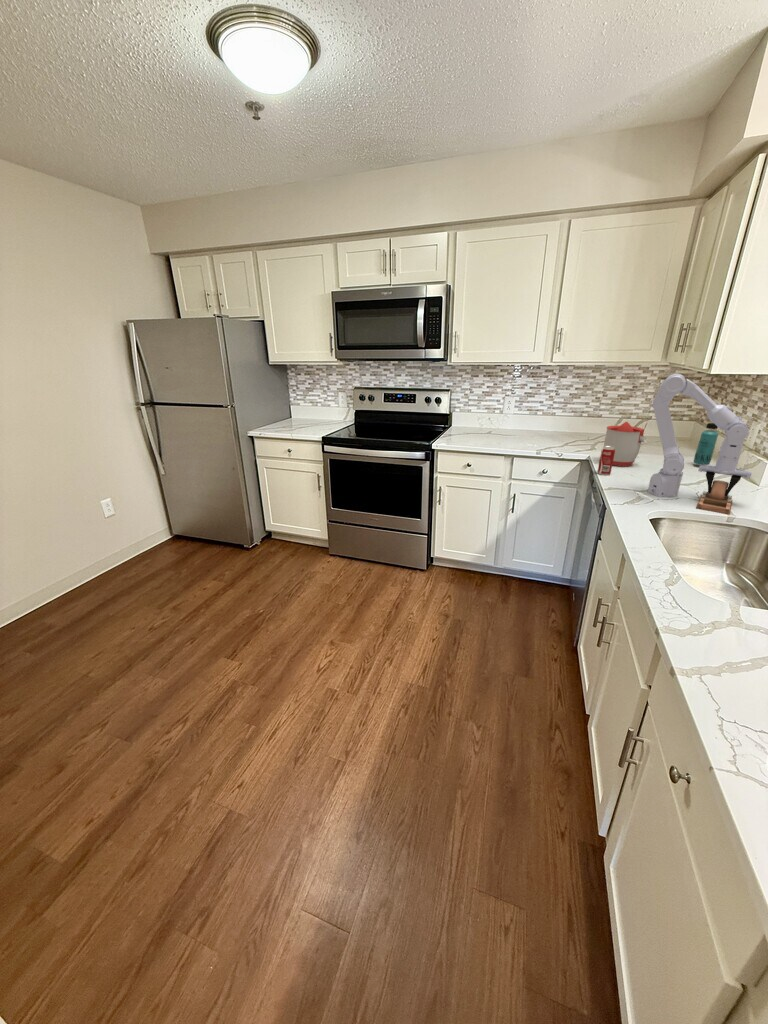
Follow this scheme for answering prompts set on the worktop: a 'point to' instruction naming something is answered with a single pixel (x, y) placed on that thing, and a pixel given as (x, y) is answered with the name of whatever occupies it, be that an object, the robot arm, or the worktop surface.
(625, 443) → the citrus juicer
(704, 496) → the tray
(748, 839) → the worktop surface
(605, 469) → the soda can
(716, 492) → the tube
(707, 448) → the beverage bottle
